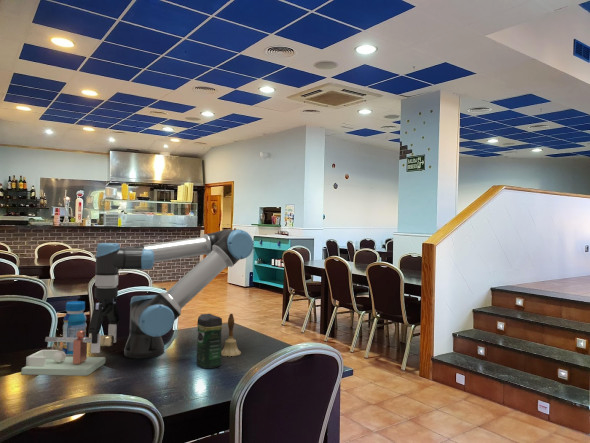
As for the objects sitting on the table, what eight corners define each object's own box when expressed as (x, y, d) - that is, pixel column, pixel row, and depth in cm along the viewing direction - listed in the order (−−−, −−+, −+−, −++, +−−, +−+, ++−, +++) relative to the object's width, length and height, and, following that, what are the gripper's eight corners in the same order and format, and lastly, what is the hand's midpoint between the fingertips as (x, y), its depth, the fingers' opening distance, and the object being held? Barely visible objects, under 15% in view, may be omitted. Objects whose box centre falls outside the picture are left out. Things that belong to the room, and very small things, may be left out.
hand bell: (216, 355, 172) (217, 314, 172) (227, 349, 179) (228, 311, 180) (234, 357, 169) (235, 316, 169) (244, 352, 176) (245, 313, 177)
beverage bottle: (75, 357, 164) (77, 304, 165) (56, 355, 166) (58, 303, 166) (90, 351, 173) (92, 301, 173) (72, 349, 174) (73, 300, 175)
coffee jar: (224, 366, 157) (225, 315, 158) (204, 370, 153) (206, 317, 153) (212, 359, 165) (213, 311, 166) (193, 363, 160) (194, 313, 161)
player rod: (114, 359, 154) (115, 329, 154) (108, 364, 149) (109, 332, 149) (49, 358, 154) (50, 327, 154) (41, 362, 149) (42, 331, 149)
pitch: (105, 362, 159) (105, 349, 159) (87, 375, 145) (87, 360, 145) (45, 361, 158) (45, 347, 158) (21, 374, 144) (21, 359, 144)
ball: (67, 360, 153) (68, 349, 154) (61, 364, 149) (62, 352, 150) (56, 360, 153) (56, 349, 154) (50, 364, 149) (50, 352, 150)
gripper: (110, 282, 165) (108, 338, 164) (78, 291, 140) (75, 357, 139) (130, 282, 165) (128, 338, 164) (101, 291, 140) (99, 357, 139)
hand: (104, 347), depth 152 cm, fingers open, 13 cm apart
